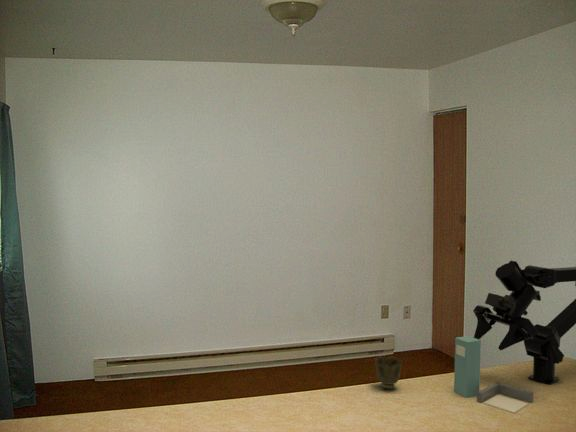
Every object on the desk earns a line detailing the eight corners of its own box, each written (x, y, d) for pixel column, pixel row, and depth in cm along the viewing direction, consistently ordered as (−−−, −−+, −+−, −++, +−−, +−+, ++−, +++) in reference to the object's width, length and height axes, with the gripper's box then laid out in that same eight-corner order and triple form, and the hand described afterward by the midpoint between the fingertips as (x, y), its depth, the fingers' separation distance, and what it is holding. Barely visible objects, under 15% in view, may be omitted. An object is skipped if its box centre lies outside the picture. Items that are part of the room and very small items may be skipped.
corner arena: (496, 391, 147) (496, 382, 147) (533, 401, 140) (533, 392, 140) (476, 401, 140) (477, 392, 140) (514, 413, 133) (514, 403, 133)
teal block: (467, 389, 148) (468, 335, 148) (479, 395, 144) (480, 340, 143) (453, 391, 147) (454, 337, 146) (465, 398, 142) (466, 342, 141)
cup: (400, 383, 152) (400, 356, 152) (402, 393, 145) (403, 364, 144) (373, 382, 153) (373, 355, 152) (375, 392, 145) (375, 363, 145)
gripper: (478, 277, 157) (447, 318, 153) (530, 289, 140) (497, 334, 136) (498, 302, 161) (468, 342, 157) (551, 316, 144) (519, 361, 140)
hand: (486, 344), depth 147 cm, fingers open, 9 cm apart
